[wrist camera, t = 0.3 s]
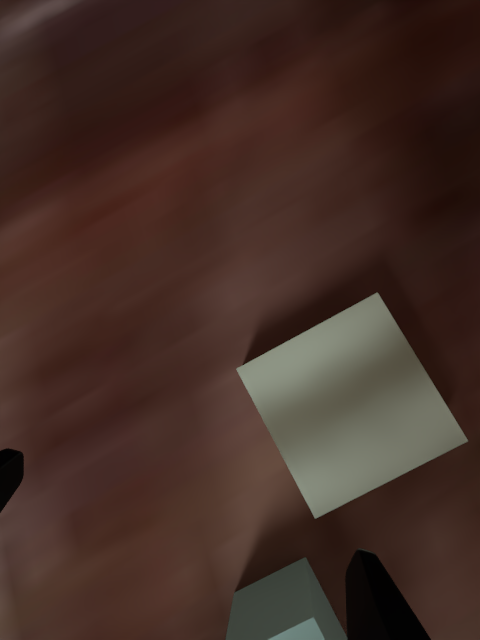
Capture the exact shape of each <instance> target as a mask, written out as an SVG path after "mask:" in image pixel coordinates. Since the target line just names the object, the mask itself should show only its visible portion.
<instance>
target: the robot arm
mask: <svg viewBox="0 0 480 640" xmlns="http://www.w3.org/2000/svg"><path fill="white" fill-rule="evenodd" d="M23 475H24V456H23V453H22V452H20V451H17V450H13V449H9V448H8V449H4V450H1V451H0V513H1V511H2V510H3V508H4V507H5V505H6V504H7V502H8V501H9V500H10V498H11V497H12V495H13V494H14V492H15V491H16V489H17V488H18V487H19V485H20V483H21V481H22V479H23ZM345 582H346V615H347V640H431V639H430V637H429V636H428V634H427V632H426V631H425V629H424V628H423V626H422V625H421V623H420V622H419V620H418V619H417V617H416V615H415V614H414V612H413V611H412V609H411V608H410V606H409V605H408V603H407V602H406V600H405V599H404V597H403V595H402V594H401V592H400V591H399V589H398V588H397V586H396V585H395V583H394V582H393V580H392V578H391V577H390V575H389V574H388V572H387V571H386V569H385V568H384V566H383V565H382V563H381V561H380V560H379V558H378V557H377V555H376V554H375V553H373V552H371V551H368V550H364V549H361V548H359V549H357V550H356V551H355V553H354V555H353V557H352V559H351V562H350V564H349V566H348V568H347V571H346V578H345Z"/></svg>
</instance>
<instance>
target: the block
mask: <svg viewBox="0 0 480 640" xmlns="http://www.w3.org/2000/svg"><path fill="white" fill-rule="evenodd" d="M225 640H347V636H346V634H345V632H344V631H343V629H342V627H341V625H340V623H339V621H338V619H337V617H336V615H335V613H334V611H333V609H332V607H331V605H330V603H329V601H328V599H327V597H326V595H325V594H324V592H323V590H322V588H321V586H320V584H319V582H318V580H317V578H316V576H315V574H314V572H313V570H312V568H311V566H310V564H309V562H308V560H307V559H306V557H304V558H302V559H300V560H298V561H296V562H294V563H292V564H290V565H288V566H286V567H284V568H282V569H280V570H278V571H276V572H274V573H272V574H270V575H268V576H266V577H264V578H262V579H260V580H258V581H256V582H254V583H252V584H250V585H248V586H246V587H244V588H243V589H241V590H239V591H237V592H235V593H234V596H233V602H232V607H231V612H230V618H229V623H228V628H227V634H226V639H225Z"/></svg>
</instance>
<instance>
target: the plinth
mask: <svg viewBox="0 0 480 640" xmlns="http://www.w3.org/2000/svg"><path fill="white" fill-rule="evenodd" d="M237 371H238V373H239V375H240V377H241V379H242V381H243V383H244V385H245V387H246V388H247V390H248V392H249V394H250V396H251V398H252V400H253V402H254V404H255V406H256V407H257V409H258V411H259V413H260V415H261V417H262V419H263V421H264V423H265V425H266V426H267V428H268V430H269V432H270V434H271V436H272V438H273V440H274V442H275V444H276V445H277V447H278V449H279V451H280V453H281V455H282V457H283V459H284V461H285V463H286V464H287V466H288V468H289V470H290V472H291V474H292V476H293V478H294V480H295V482H296V483H297V485H298V487H299V489H300V491H301V493H302V495H303V497H304V499H305V501H306V502H307V504H308V506H309V508H310V510H311V512H312V514H313V516H314V518H315V519H316V518H318V517H320V516H322V515H324V514H326V513H328V512H330V511H332V510H334V509H336V508H338V507H340V506H342V505H344V504H345V503H347V502H349V501H351V500H353V499H355V498H357V497H359V496H361V495H363V494H365V493H367V492H369V491H371V490H373V489H375V488H377V487H379V486H381V485H383V484H385V483H387V482H389V481H391V480H393V479H395V478H397V477H399V476H401V475H403V474H404V473H406V472H408V471H410V470H412V469H414V468H416V467H418V466H420V465H422V464H424V463H426V462H428V461H430V460H432V459H434V458H436V457H438V456H440V455H442V454H444V453H446V452H448V451H450V450H452V449H454V448H456V447H458V446H460V445H462V444H464V443H465V442H467V441H468V440H467V438H466V436H465V435H464V433H463V432H462V430H461V428H460V427H459V425H458V423H457V422H456V420H455V418H454V417H453V415H452V414H451V412H450V410H449V409H448V407H447V405H446V404H445V402H444V400H443V399H442V397H441V395H440V394H439V392H438V391H437V389H436V387H435V386H434V384H433V382H432V381H431V379H430V377H429V376H428V374H427V373H426V371H425V369H424V368H423V366H422V364H421V363H420V361H419V359H418V358H417V356H416V355H415V353H414V351H413V350H412V348H411V346H410V345H409V343H408V341H407V340H406V338H405V336H404V335H403V333H402V332H401V330H400V328H399V327H398V325H397V323H396V322H395V320H394V318H393V317H392V315H391V314H390V312H389V310H388V309H387V307H386V305H385V304H384V302H383V300H382V299H381V297H380V296H379V294H378V292H377V293H376V294H374V295H372V296H370V297H368V298H366V299H364V300H363V301H361V302H359V303H357V304H355V305H353V306H352V307H350V308H348V309H346V310H344V311H342V312H340V313H339V314H337V315H335V316H333V317H331V318H329V319H328V320H326V321H324V322H322V323H320V324H318V325H316V326H315V327H313V328H311V329H309V330H307V331H305V332H303V333H302V334H300V335H298V336H296V337H294V338H292V339H291V340H289V341H287V342H285V343H283V344H281V345H279V346H278V347H276V348H274V349H272V350H270V351H268V352H267V353H265V354H263V355H261V356H259V357H257V358H255V359H254V360H252V361H250V362H248V363H246V364H244V365H242V366H241V367H239V368H237Z"/></svg>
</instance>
